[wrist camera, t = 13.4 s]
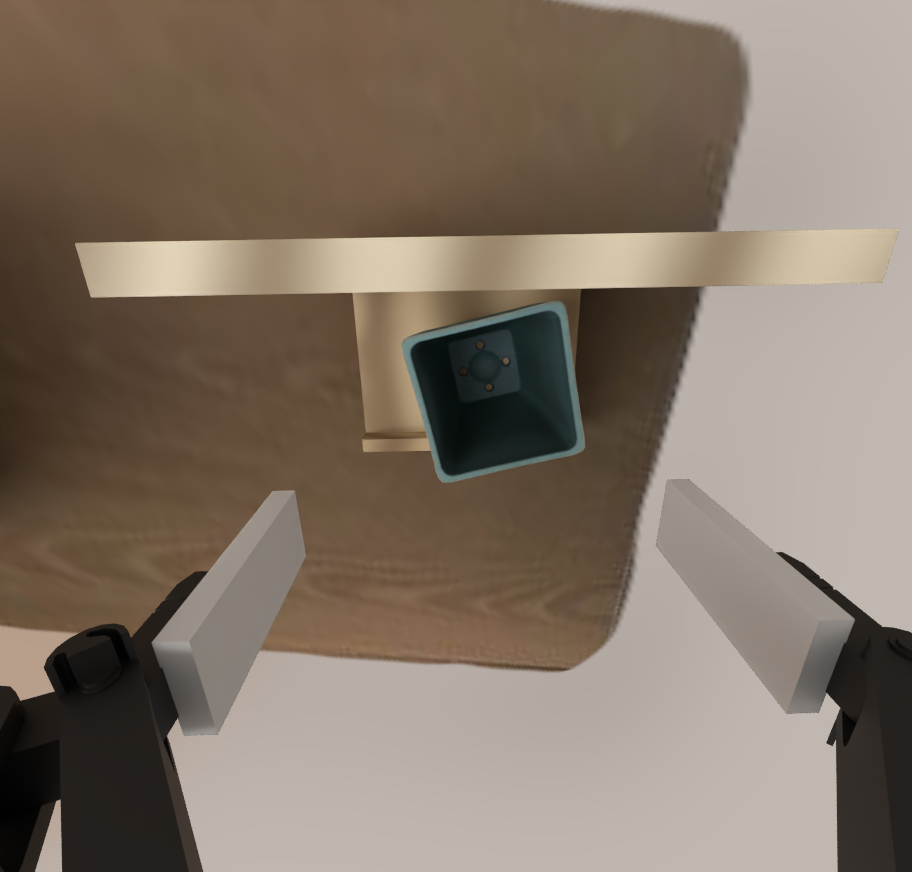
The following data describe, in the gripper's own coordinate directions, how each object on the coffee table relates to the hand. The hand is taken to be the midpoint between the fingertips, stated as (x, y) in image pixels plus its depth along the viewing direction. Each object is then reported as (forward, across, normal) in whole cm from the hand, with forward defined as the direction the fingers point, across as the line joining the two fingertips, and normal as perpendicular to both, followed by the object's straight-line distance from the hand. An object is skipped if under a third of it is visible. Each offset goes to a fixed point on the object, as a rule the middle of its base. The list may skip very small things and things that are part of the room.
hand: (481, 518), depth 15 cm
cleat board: (+22, 0, +2) cm, 22 cm away
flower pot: (+19, +2, +2) cm, 19 cm away
